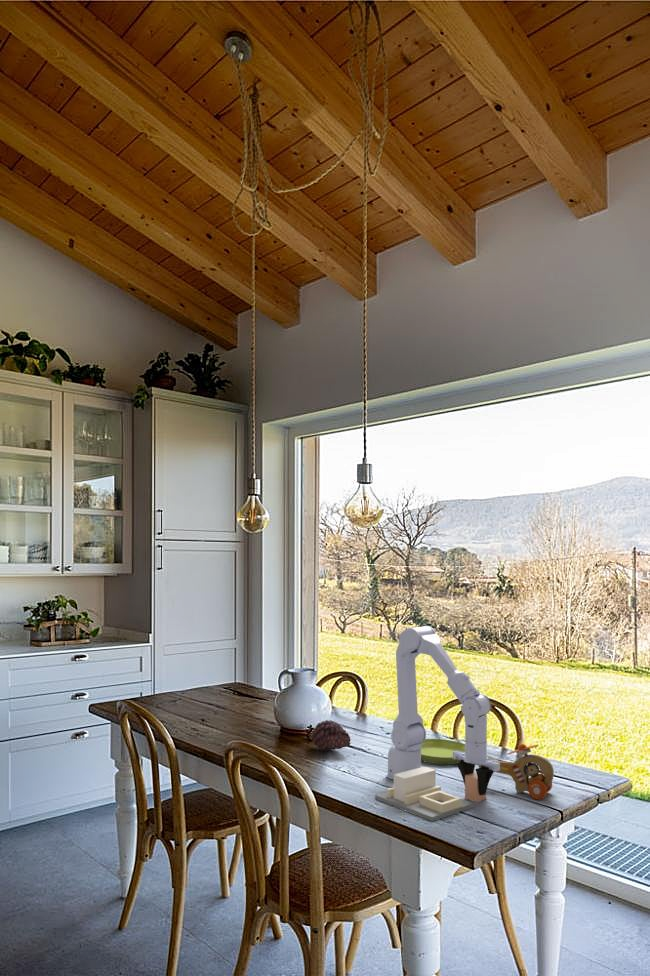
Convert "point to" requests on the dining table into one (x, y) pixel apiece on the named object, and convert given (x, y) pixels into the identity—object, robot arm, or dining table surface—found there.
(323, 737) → the pine cone
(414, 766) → the robot arm
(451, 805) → the assembly jig
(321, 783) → the dining table surface
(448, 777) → the dining table surface
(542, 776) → the toy helicopter
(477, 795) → the block
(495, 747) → the dining table surface
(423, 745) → the saucer
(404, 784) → the block
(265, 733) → the dining table surface
